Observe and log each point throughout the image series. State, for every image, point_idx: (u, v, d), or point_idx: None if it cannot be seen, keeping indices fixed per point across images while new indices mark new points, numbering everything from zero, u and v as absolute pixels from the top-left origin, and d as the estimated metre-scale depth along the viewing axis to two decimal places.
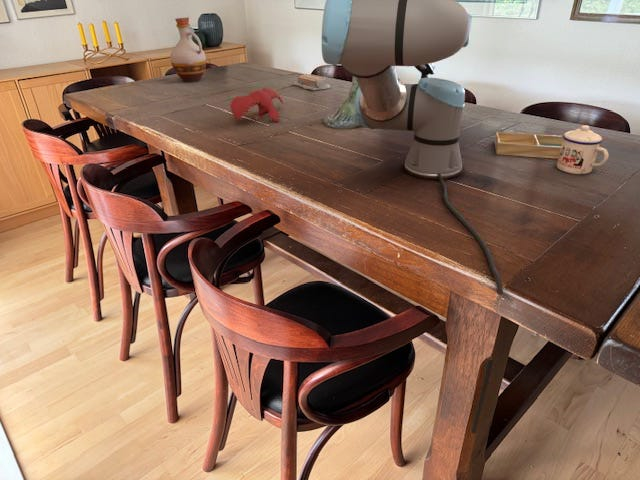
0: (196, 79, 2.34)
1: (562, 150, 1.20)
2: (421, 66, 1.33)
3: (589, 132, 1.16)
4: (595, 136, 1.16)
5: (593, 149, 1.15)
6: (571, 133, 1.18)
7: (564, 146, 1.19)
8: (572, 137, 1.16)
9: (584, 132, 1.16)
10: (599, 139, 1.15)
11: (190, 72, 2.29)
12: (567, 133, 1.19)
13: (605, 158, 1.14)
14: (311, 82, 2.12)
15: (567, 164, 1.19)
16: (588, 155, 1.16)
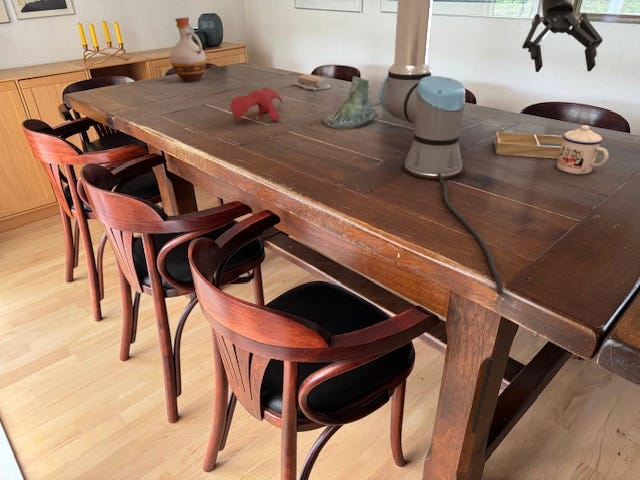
0: (196, 79, 2.34)
1: (562, 150, 1.20)
2: None
3: (589, 132, 1.16)
4: (595, 136, 1.16)
5: (593, 149, 1.15)
6: (571, 133, 1.18)
7: (564, 146, 1.19)
8: (572, 137, 1.16)
9: (584, 132, 1.16)
10: (599, 139, 1.15)
11: (190, 72, 2.29)
12: (567, 133, 1.19)
13: (605, 158, 1.14)
14: (311, 82, 2.12)
15: (567, 164, 1.19)
16: (588, 155, 1.16)
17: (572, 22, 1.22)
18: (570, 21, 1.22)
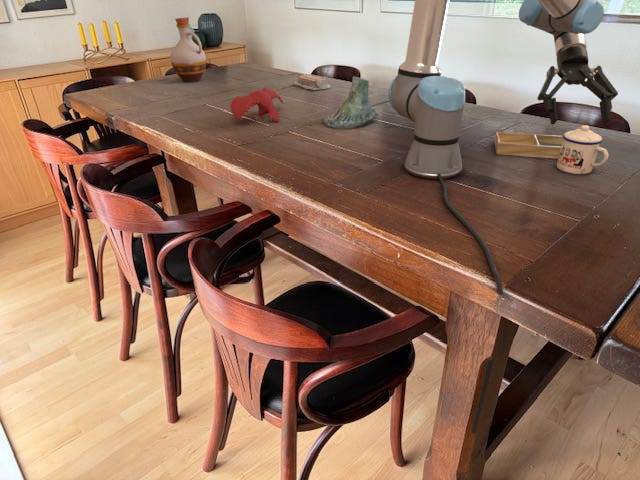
0: (196, 79, 2.34)
1: (562, 150, 1.20)
2: None
3: (589, 132, 1.16)
4: (595, 136, 1.16)
5: (593, 149, 1.15)
6: (571, 133, 1.18)
7: (564, 146, 1.19)
8: (572, 137, 1.16)
9: (584, 132, 1.16)
10: (599, 139, 1.15)
11: (190, 72, 2.29)
12: (567, 133, 1.19)
13: (605, 158, 1.14)
14: (311, 82, 2.12)
15: (567, 164, 1.19)
16: (588, 155, 1.16)
17: (587, 75, 1.23)
18: (585, 74, 1.23)
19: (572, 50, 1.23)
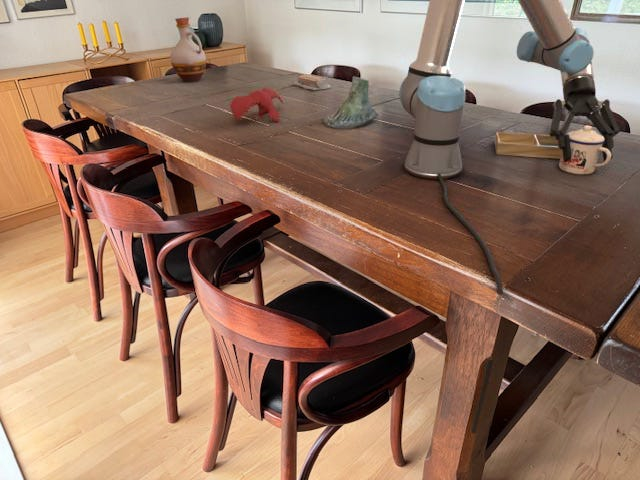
0: (196, 79, 2.34)
1: None
2: None
3: (592, 132, 1.16)
4: (598, 136, 1.16)
5: (596, 149, 1.15)
6: (574, 133, 1.18)
7: None
8: (575, 137, 1.16)
9: (587, 132, 1.16)
10: (602, 139, 1.15)
11: (190, 72, 2.29)
12: (570, 133, 1.19)
13: (608, 158, 1.14)
14: (311, 82, 2.12)
15: (569, 164, 1.19)
16: (591, 155, 1.16)
17: (594, 107, 1.19)
18: (591, 106, 1.19)
19: (578, 81, 1.19)
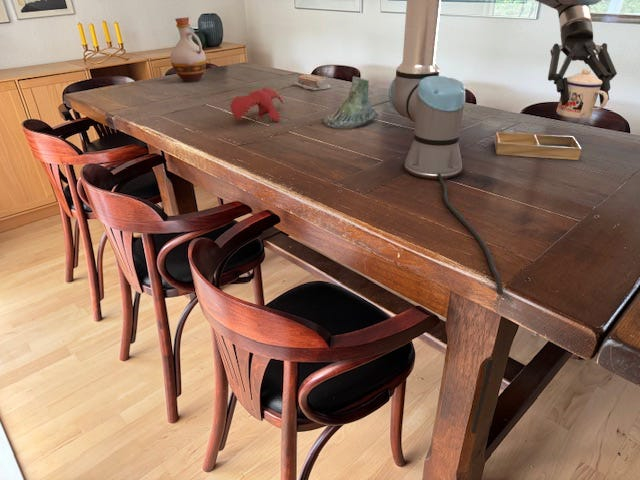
0: (196, 79, 2.34)
1: None
2: None
3: (590, 75, 1.16)
4: (596, 79, 1.16)
5: (593, 92, 1.16)
6: (572, 77, 1.18)
7: None
8: (573, 80, 1.17)
9: (585, 75, 1.16)
10: (599, 82, 1.15)
11: (190, 72, 2.29)
12: (568, 77, 1.19)
13: (605, 101, 1.15)
14: (311, 82, 2.12)
15: (566, 108, 1.20)
16: (588, 98, 1.17)
17: (592, 50, 1.19)
18: (589, 49, 1.19)
19: (576, 24, 1.19)
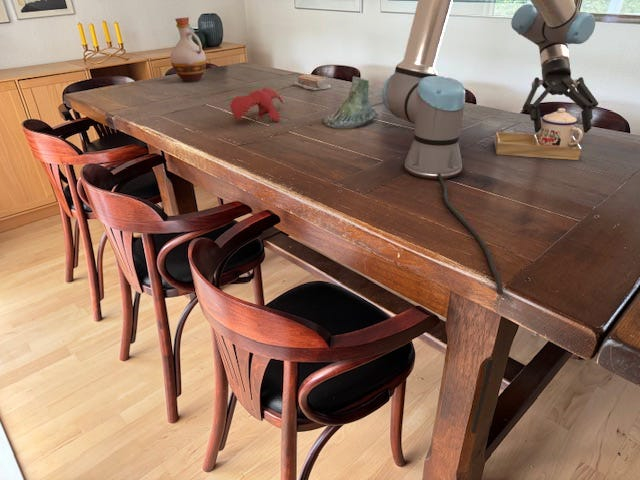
0: (196, 79, 2.34)
1: (541, 131, 1.32)
2: None
3: (565, 114, 1.28)
4: (571, 117, 1.27)
5: (569, 129, 1.27)
6: (549, 115, 1.30)
7: (543, 127, 1.31)
8: (550, 119, 1.28)
9: (561, 114, 1.28)
10: (574, 120, 1.27)
11: (190, 72, 2.29)
12: (545, 116, 1.31)
13: (580, 137, 1.26)
14: (311, 82, 2.12)
15: (546, 144, 1.31)
16: (565, 134, 1.28)
17: (569, 86, 1.30)
18: (568, 85, 1.30)
19: (555, 62, 1.30)
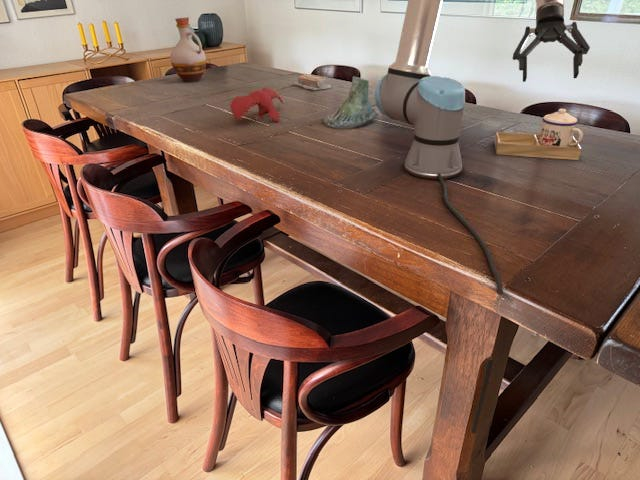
0: (196, 79, 2.34)
1: (542, 131, 1.32)
2: None
3: (565, 114, 1.28)
4: (571, 118, 1.27)
5: (569, 130, 1.27)
6: (549, 116, 1.30)
7: (543, 128, 1.31)
8: (550, 119, 1.28)
9: (561, 114, 1.28)
10: (574, 121, 1.27)
11: (190, 72, 2.29)
12: (546, 116, 1.31)
13: (580, 138, 1.26)
14: (312, 82, 2.12)
15: (546, 144, 1.31)
16: (565, 135, 1.28)
17: (560, 32, 1.32)
18: (558, 31, 1.32)
19: (546, 9, 1.32)
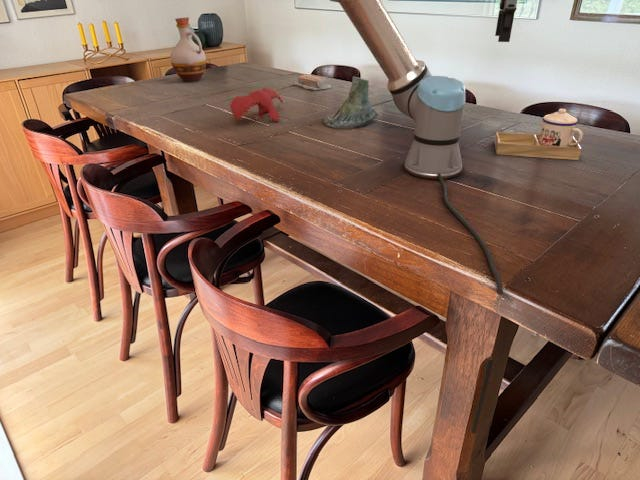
0: (196, 79, 2.34)
1: (542, 131, 1.32)
2: None
3: (566, 114, 1.28)
4: (571, 118, 1.27)
5: (569, 130, 1.27)
6: (550, 116, 1.30)
7: (543, 128, 1.31)
8: (551, 119, 1.28)
9: (561, 114, 1.28)
10: (574, 121, 1.27)
11: (190, 72, 2.29)
12: (546, 116, 1.31)
13: (580, 138, 1.26)
14: (312, 82, 2.12)
15: (546, 144, 1.31)
16: (565, 135, 1.28)
17: None
18: None
19: None
